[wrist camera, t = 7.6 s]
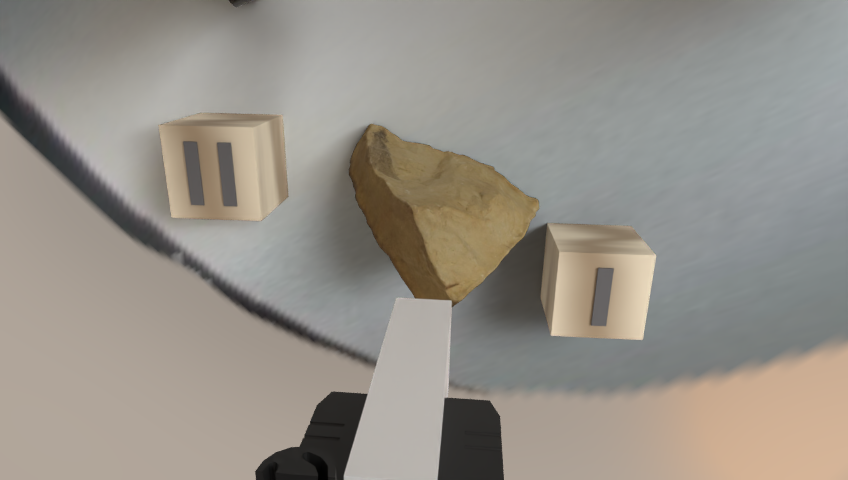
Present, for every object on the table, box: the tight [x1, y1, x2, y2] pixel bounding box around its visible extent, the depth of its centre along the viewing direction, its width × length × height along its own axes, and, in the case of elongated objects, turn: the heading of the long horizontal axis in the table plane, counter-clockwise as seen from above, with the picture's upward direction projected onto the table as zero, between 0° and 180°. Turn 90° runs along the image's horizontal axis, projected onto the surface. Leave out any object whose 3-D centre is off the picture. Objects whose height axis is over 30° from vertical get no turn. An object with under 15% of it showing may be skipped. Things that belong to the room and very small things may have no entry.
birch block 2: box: [540, 223, 656, 340], centre depth 33 cm, size 5×5×5 cm
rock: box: [349, 124, 539, 307], centre depth 31 cm, size 11×9×10 cm
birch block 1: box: [158, 113, 288, 221], centre depth 33 cm, size 5×5×5 cm
